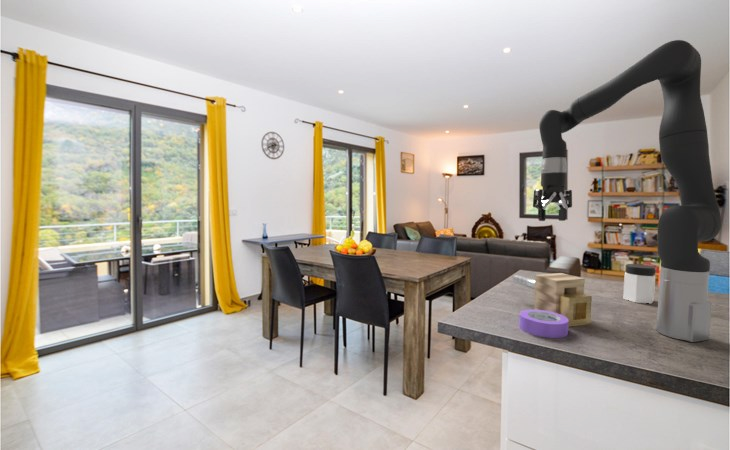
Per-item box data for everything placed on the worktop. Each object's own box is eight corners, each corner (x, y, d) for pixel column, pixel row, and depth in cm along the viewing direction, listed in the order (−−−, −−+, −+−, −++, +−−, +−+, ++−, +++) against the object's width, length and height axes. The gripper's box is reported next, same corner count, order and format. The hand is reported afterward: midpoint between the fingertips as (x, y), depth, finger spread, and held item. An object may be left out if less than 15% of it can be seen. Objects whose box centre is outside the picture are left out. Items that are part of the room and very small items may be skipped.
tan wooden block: (582, 319, 102) (584, 278, 101) (554, 322, 99) (556, 280, 98) (560, 311, 110) (561, 273, 109) (533, 313, 107) (535, 274, 106)
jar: (651, 305, 116) (653, 269, 115) (621, 300, 122) (623, 266, 121) (655, 300, 122) (657, 266, 121) (626, 295, 128) (628, 262, 127)
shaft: (565, 297, 103) (566, 287, 103) (557, 298, 102) (558, 288, 102) (520, 282, 121) (520, 274, 121) (512, 283, 120) (513, 274, 120)
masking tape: (570, 328, 96) (571, 314, 95) (565, 342, 86) (565, 326, 86) (524, 319, 102) (524, 306, 102) (514, 331, 93) (515, 317, 93)
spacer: (590, 324, 98) (591, 295, 98) (567, 326, 96) (569, 298, 96) (581, 320, 101) (582, 293, 101) (558, 323, 99) (560, 295, 98)
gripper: (545, 170, 112) (544, 221, 113) (580, 171, 116) (578, 221, 117) (528, 172, 119) (526, 220, 120) (561, 173, 123) (559, 220, 124)
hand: (552, 220), depth 119 cm, fingers open, 8 cm apart
